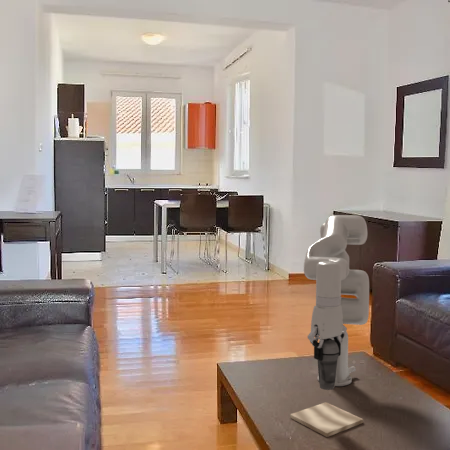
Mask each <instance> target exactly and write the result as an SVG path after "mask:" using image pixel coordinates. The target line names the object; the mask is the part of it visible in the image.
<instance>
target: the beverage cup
mask: <svg viewBox="0 0 450 450" xmlns="http://www.w3.org/2000/svg"><path fill="white" fill-rule="evenodd" d="M321 348H323V360H322V361H320V360H317V369H318V371H317V372H318V375H319V381H318V383H319V388H320V389H322V390H327V391H330V390H334V389H335V386H334V385H335V378H336V369H337V359H338V356H339V348H338V345H337V343H336V342H335V341H334V340H332V339H330V338H329V339H324V341H323V344H322V347H321Z"/></svg>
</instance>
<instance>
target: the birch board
mask: <svg viewBox="0 0 450 450" xmlns="http://www.w3.org/2000/svg"><path fill="white" fill-rule="evenodd" d="M289 417H290V418H289V419H291V420H293V421H295V422H297V423H299V424H301V425H303V426H305V427H307V428H309V429H311V430H312V431H314V432H316V433H318V434H321V435H322V436H324V437H326V438H328V437H331V436H333V435H335V434H338V433H341V432H343V431H347V430H348V429H351V428H353V427H356V426H359V425H361V424H364V419H363V418H361V417H359V416H357V415H356V414H355V415H354V414H353V413H351V412H349V411H346V410H344V409H341V408H340V407H338V406H335V405H333V404H331V403H329V402H326V401H324V402H322V403H320V404H316V405H313V406H310V407H307V408H305V409H301V410H299V411H295V412H292V413H290V415H289Z"/></svg>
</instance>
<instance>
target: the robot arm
mask: <svg viewBox="0 0 450 450" xmlns="http://www.w3.org/2000/svg"><path fill="white" fill-rule="evenodd" d="M319 228H320V229H319V233H320V239H319V240H317V241H315V242H314V243H313V244H311V245H310V246H309V247H308V249H307V250H306V253H305V258H304V262H303V274H304V276H305V277H306V278H307V279H308V280H311V281H312V280H313V281H315V282H316V283H315V286H316V287H315V305H313V310H312V314H311V323H310V332H309V333H308V334H307V339H308V340H309V342H310V344H311V345H312V347H313V358H314V360H317V361H318V360H320V361H322V360H323V348H321V347H322V344H323V341H324V339H329V338H330V339H332V340H334V341H335V342H336V343H337V345H338V348H339V356H338V359H337V369H336V378H335V385H334V387H344V386H348V385H350V384H351V383H352V380H353V379H352V376H351V375H350V374H351V373H353V372H356V371H357V369H356V366H354V365H353V366H352V365H351V366H350V367H349V364H348V363H349V335H348V331H347V330H348V328H347V326H345V325H356V326H358V325H359V326H361V325H362V326H363V325H365V324H367V322H368V321H369V314H370V278H369V275H368V273H367V272H366V270H365V271H364V270H361V269H350V256H349V254H348V253H347V252H348V251H346V249H347V246H348V245H352V246H353V245H354V246H355V245H359V246H360V245H364V244H365V243H366V241H367V239H368V226H367V221H366V220H365V218H364V217H363V216H361V215H355V214H354V215H350V214H334V215H331V216H329V217H328V218H327V219H326V221H325V222H324V223H322V224H321V226H320V227H319ZM343 295H346V296H354V298H353V297H342V296H343ZM317 380H318V382H319V374H317Z"/></svg>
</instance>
